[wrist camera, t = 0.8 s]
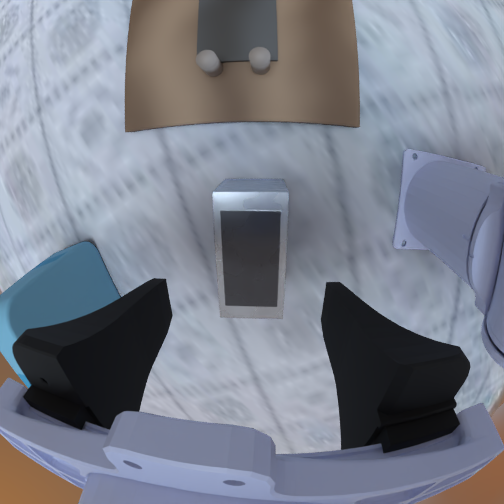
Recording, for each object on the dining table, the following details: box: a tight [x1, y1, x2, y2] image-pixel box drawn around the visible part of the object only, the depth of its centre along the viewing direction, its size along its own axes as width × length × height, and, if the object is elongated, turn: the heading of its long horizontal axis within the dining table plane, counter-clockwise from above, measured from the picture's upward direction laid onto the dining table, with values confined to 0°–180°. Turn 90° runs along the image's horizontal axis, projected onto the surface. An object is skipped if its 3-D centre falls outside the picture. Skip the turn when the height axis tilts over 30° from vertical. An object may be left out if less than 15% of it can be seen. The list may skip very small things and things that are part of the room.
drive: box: [212, 179, 289, 319], centre depth 18 cm, size 4×8×5 cm, turn 0°
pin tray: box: [125, 0, 360, 132], centre depth 12 cm, size 16×18×4 cm
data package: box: [0, 241, 120, 388], centre depth 18 cm, size 12×4×12 cm, turn 16°
